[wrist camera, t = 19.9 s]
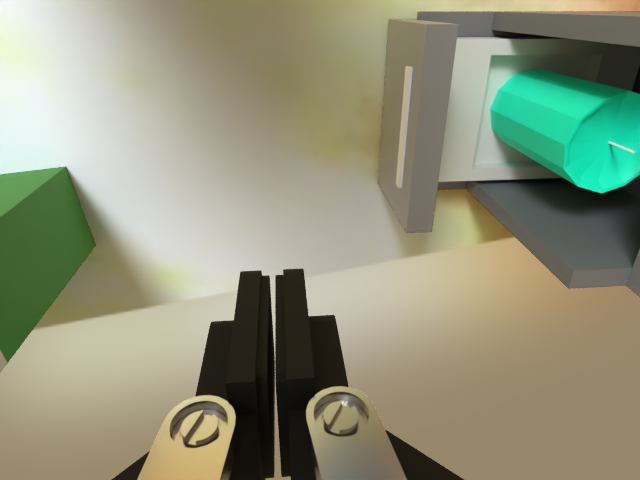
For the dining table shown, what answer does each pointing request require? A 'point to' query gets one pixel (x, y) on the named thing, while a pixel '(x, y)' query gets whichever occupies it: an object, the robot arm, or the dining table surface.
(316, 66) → the dining table surface
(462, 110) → the tray
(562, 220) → the housing
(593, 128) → the candle
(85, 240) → the green block
